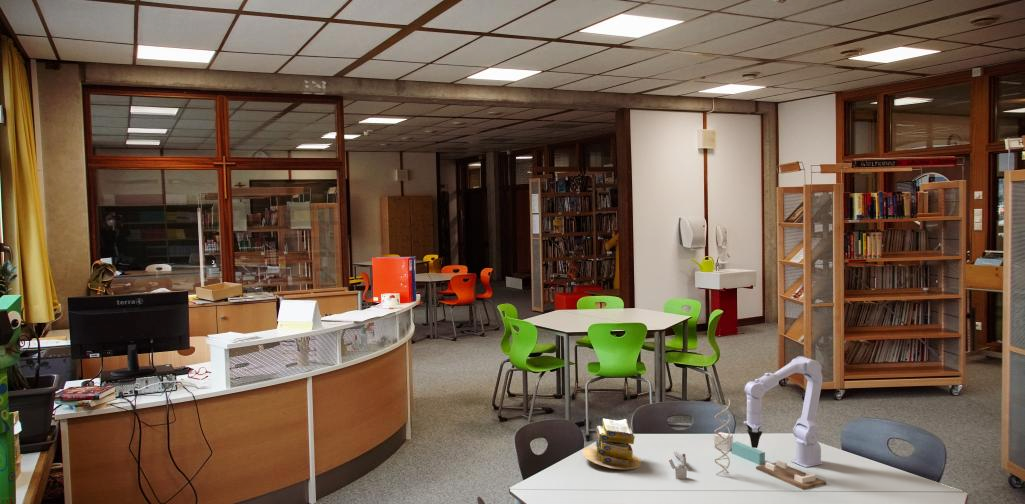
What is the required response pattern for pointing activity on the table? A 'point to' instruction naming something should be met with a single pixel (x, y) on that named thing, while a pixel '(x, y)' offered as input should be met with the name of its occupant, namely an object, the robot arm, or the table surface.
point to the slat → (748, 453)
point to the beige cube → (723, 446)
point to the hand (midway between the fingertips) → (754, 444)
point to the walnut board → (790, 476)
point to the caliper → (681, 457)
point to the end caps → (798, 478)
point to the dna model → (723, 437)
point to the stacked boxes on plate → (613, 446)
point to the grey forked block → (679, 470)
